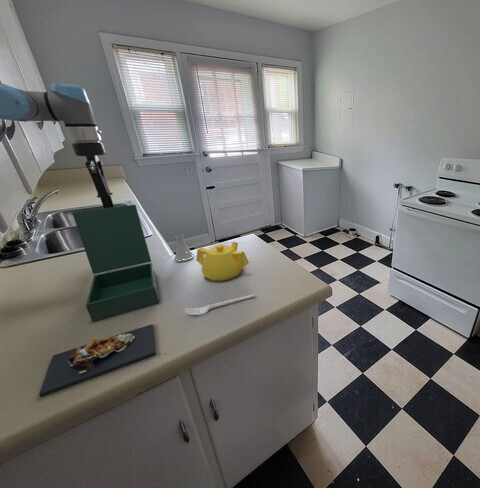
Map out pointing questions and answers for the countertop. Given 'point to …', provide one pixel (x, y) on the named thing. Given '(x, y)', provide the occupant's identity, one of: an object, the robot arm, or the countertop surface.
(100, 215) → the box lid
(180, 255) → the flask
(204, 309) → the white spoon
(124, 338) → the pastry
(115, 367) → the trivet mat
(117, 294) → the box
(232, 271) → the teapot
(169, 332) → the countertop surface
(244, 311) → the countertop surface
